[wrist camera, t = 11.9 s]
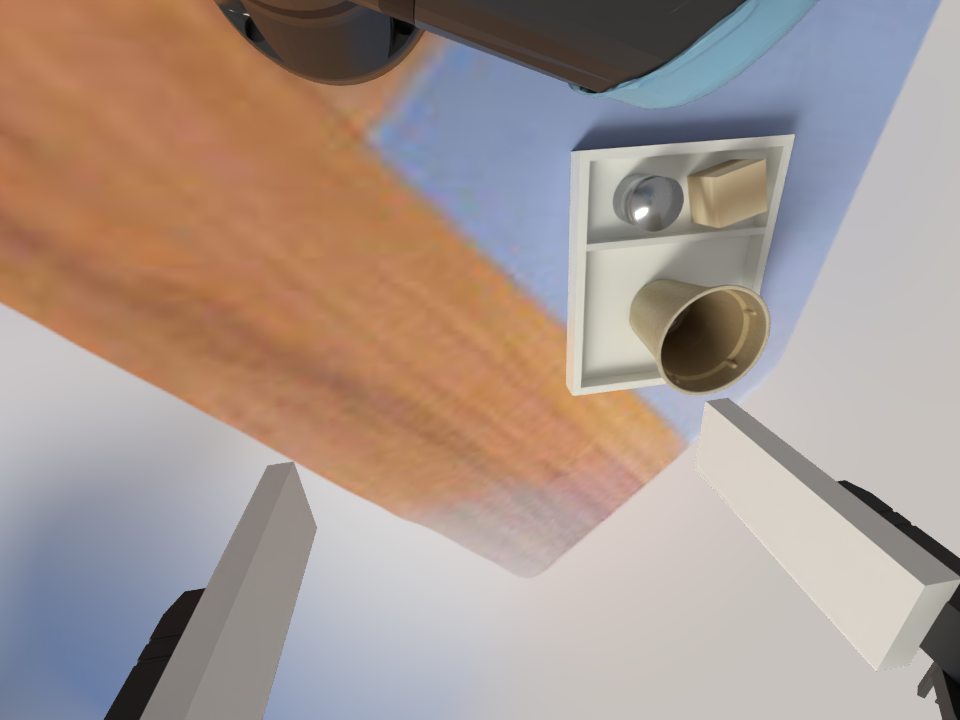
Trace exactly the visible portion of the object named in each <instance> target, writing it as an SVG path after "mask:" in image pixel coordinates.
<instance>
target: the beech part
mask: <svg viewBox="0 0 960 720" xmlns="http://www.w3.org/2000/svg"><path fill="white" fill-rule="evenodd" d="M687 184H688V194H689V203H690V213H691V222H693V223H698V224H702V225H707V226H712V227H716V228H722V227H725V226H728V225H730V224H733V223H736V222H738V221H741V220H744V219H746V218H749V217H752V216H754V215H757V214H760V213H763V212H765V211H767V180H766V159H731V160H728V161H726V162H723V163H720V164H718V165H715V166H712V167H710V168H707V169H704V170H702V171H699V172H696V173H694V174H691V175H689V176H687Z"/></svg>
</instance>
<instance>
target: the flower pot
mask: <svg viewBox="0 0 960 720" xmlns="http://www.w3.org/2000/svg"><path fill="white" fill-rule="evenodd" d="M674 321H677V322H676V324H675V325H674V326H673V327H671V328H670V329H669V327H670V326H671V324H672V323H673V322H674ZM629 323H630V326H631V328H632V330H633V331H634V333H635V334H636V335H637V336H638V337H639V339H640V340H641V341H642V342H643V343H644V345H645V346H646V347H647V348H648V350H649V351H650V352H651V353H652V355H653V356H654V357H655V360H656V363H657V367H658V370H659V373H660V375H661V377H662V378H663V379H664V381H665V382H666V383H667V384H668V385H669V386H670V387H672V388H673V389H675V390H677V391H679V392H681V393H684V394H688V395H707V394H712V393H716V392H718V391H721V390H723V389H725V388H727V387H729V386H731V385H732V384H734V383H736V382H737V381H739V380H740V379H741V378H742V377H744V376H745V375H746V374H747V372H748V371H750V369H751V368H752V367H753V366H754V365H755V364H756V362H757V361H758V359H759V358H760V356H761V355H762V352H763V351H764V349H765V346H766V344H767V341H768V338H769V333H770V314H769V311H768V308H767V305H766V304H765V302H764V301H763V299H762V298H761V297H760V296H759V295H758V294H757V293H756V292H754V291H752V290H751V289H748V288H746V287H743V286H739V285H719V286H712V287H705V286H700V285H695V284H690V283H685V282H681V281H677V280H673V279H663V280H657V281H654V282H652V283H650V284H648V285H646V286H645V287H644V288H643V289H642V290H641V291H640V292H639V293H638V294H637V295H636V296H635V298H634V300H633V301H632V304H631V308H630V318H629Z"/></svg>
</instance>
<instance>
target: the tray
mask: <svg viewBox="0 0 960 720" xmlns="http://www.w3.org/2000/svg"><path fill="white" fill-rule="evenodd" d="M794 138H795V134H792V135H779V136H766V137H753V138H740V139H727V140H714V141H701V142H688V143H675V144H662V145H649V146H636V147H623V148H610V149H597V150H584V151H571V179H570V225H569V272H568V318H567V365H566V386H567V388H568V389H569V391H570V392H571V394H572V395H573V396H577V395H584V394H592V393H600V392H608V391H615V390H623V389H631V388H639V387H647V386H654V385H662V384H667V383H666V382H665V381H664V379H663V378H662V377H661V375H660V373H659V370H658V367H657V363H656V360H655V357H654V356H653V355H652V353H651V352H650V351H649V350H648V348H647V347H646V346H645V345H644V343H643V342H642V341H641V340H640V339H639V337H638V336H637V335H636V334H635V333H634V331H633V330H632V328H631V326H630V323H629V318H630V308H631V304H632V301H633V300H634V298H635V296H636V295H637V294H638V293H639V292H640V291H641V290H642V289H643V288H644V287H645V286H646V285H648V284H650V283H652V282H654V281H657V280H663V279H673V280H677V281H681V282H685V283H690V284H695V285H700V286H705V287H712V286H719V285H739V286H743V287H746V288H748V289H751V290H752V291H754V292H756V293H757V294H758V295H759V294H760V289H761V285H762V280H763V276H764V272H765V267H766V263H767V258H768V254H769V249H770V245H771V240H772V236H773V231H774V227H775V222H776V218H777V214H778V209H779V205H780V200H781V196H782V191H783V187H784V182H785V178H786V173H787V169H788V165H789V160H790V156H791V151H792V147H793V142H794ZM731 159H766V180H767V211H765V212H763V213H760V214H757V215H754V216H752V217H749V218H746V219H744V220H741V221H738V222H736V223H733V224H730V225H728V226H725V227H722V228H716V227H712V226H707V225H702V224H698V223H693V222H691V213H690V203H689V194H688V184H687V176H689V175H691V174H694V173H696V172H699V171H702V170H704V169H707V168H710V167H712V166H715V165H718V164H720V163H723V162H726V161H728V160H731ZM635 173H644V174H650V175H656V176H663V177H669V178H672V179H674V180H676V181H677V182H678V183H679V184H680V186H681V187H682V190H683V194H684V203H683V207H682V210H681V212H680V214H679V216H678V218H677V219H676V220H675V221H674V222H673V223H672V224H671V225H670V226H669V227H667V228H665V229H663V230H661V231H655V232H652V231H647V230H645V229H642V228H639V227H637V226H634V225H632V224H629V223H627V222H624V221H622V220H620V219H619V218H618V217H617V216H616V214H615V212H614V209H613V196H614V193H615V190H616V188H617V187H618V185H619V184H620V183H621V181H622V180H624V179H625V178H626V177H628V176H630V175H632V174H635ZM676 322H677V321H674V322H673V323H672V324H671V326H670V327H669V329H670V328H671V327H673V326H674V325H675V324H676Z"/></svg>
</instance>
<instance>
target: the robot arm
mask: <svg viewBox="0 0 960 720" xmlns="http://www.w3.org/2000/svg"><path fill="white" fill-rule="evenodd" d="M214 1H215V3H216V4H217V6H218V7H219V8H220V10H221V11H222V13H223V14H224V15H225V17H226V18H227V19H228V21H229V22H230V23H231V24H232V25H233V27H234V28H235V29H236V30H237V31H238V32H239V33H240V34H241V35H242V36H243V37H244V38H245V39H246V40H247V41H248V42H249V43H250V44H251V45H252V46H253V47H254V48H256V49H257V50H258V51H259V52H261V53H262V54H263V55H265V56H266V57H267V58H269V59H270V60H272V61H273V62H275V63H276V64H278V65H279V66H281V67H282V68H284V69H286V70H287V71H289V72H291V73H293V74H295V75H297V76H299V77H302V78H304V79H307V80H310V81H313V82H317V83H321V84H327V85H338V86H342V85H355V84H360V83H364V82H368V81H371V80H373V79H376V78H378V77H380V76H382V75H384V74H386V73H387V72H389V71H390V70H392V69H393V68H394V67H396V66H397V65H398V64H399V63H400V62H401V61H403V60H404V59H405V57H406V56H407V55H408V54H409V53H410V52H411V51H412V49H413V48H414V47H415V45H416V44H417V42H418V41H419V39H420V37H421V36H422V34H423V32H424V30H426V31H429V32H431V33H434V34H437V35H439V36H442V37H445V38H448V39H450V40H453V41H456V42H458V43H461V44H464V45H467V46H469V47H472V48H475V49H477V50H480V51H483V52H485V53H488V54H491V55H494V56H496V57H499V58H502V59H504V60H507V61H510V62H513V63H515V64H518V65H521V66H523V67H526V68H529V69H531V70H534V71H537V72H540V73H542V74H545V75H548V76H550V77H553V78H556V79H558V80H561V81H564V82H567V83H568V84H569V87H570V88H571V89H573V90H574V91H576V92H578V93H580V94H582V95H584V96H587V97H593V98H595V97H600V98H612V99H615V100H618V101H621V102H625V103H628V104H631V105H634V106H637V107H641V108H646V109H657V108H673V107H676V106H681V105H684V104H687V103H689V102H692V101H694V100H697V99H699V98H701V97H704V96H705V95H707V94H709V93H711V92H713V91H715V90H717V89H718V88H720V87H722V86H723V85H725V84H726V83H728V82H729V81H731V80H732V79H734V78H735V77H737V76H738V75H739V74H741V73H742V72H744V71H745V70H746V69H747V68H748V67H750V66H751V65H752V64H753V63H755V62H756V61H757V60H758V59H759V58H761V57H762V56H763V55H764V54H765V53H767V52H768V51H769V50H770V49H771V48H772V47H773V46H774V45H776V44H777V43H778V42H779V41H780V40H781V39H782V38H783V37H784V36H785V35H786V34H787V33H788V32H789V31H790V30H791V29H792V28H793V27H794V26H795V25H796V24H797V23H798V22H799V21H800V20H801V19H802V18H803V17H804V16H805V15H806V14H807V13H808V12H809V11H810V10H811V9H812V7H813V6H814V5H815V4H816V3H817V2H818V1H819V0H214ZM694 468H695V469H696V470H697V471H698V473H699V474H700V475H701V476H702V477H703V478H704V479H705V480H706V481H707V483H708V484H709V485H710V486H711V487H712V488H713V489H714V490H715V492H716V493H717V494H718V495H719V496H720V497H721V498H722V499H723V501H724V502H725V503H726V504H727V505H728V506H729V507H730V508H731V509H732V511H733V512H734V513H735V514H736V515H737V516H738V517H739V518H740V520H741V521H742V522H743V523H744V524H745V525H746V526H747V527H748V529H749V530H750V531H751V532H752V533H753V534H754V535H755V536H756V538H758V540H759V541H760V542H761V543H762V544H763V545H764V546H765V547H766V549H767V550H768V551H769V552H770V553H771V554H772V555H773V557H774V558H775V559H776V560H777V561H778V562H779V563H780V564H781V566H782V567H783V568H784V569H785V570H786V571H787V572H788V573H789V574H790V576H791V577H793V579H794V580H795V581H796V582H797V583H798V584H799V586H800V587H801V588H802V589H803V590H804V591H805V592H806V593H807V595H808V596H809V597H810V598H811V599H812V600H813V601H814V602H815V604H816V605H817V606H818V607H819V608H820V609H821V610H822V611H823V612H824V614H825V615H826V616H827V617H828V618H829V619H830V620H831V622H832V623H833V624H834V625H835V626H836V627H837V628H838V629H839V631H840V632H841V633H842V634H843V635H844V636H845V637H846V638H847V639H848V640H849V642H850V643H851V644H852V645H853V646H854V647H855V648H856V649H857V651H858V652H859V653H860V654H861V655H862V656H863V657H864V659H865V660H866V661H867V662H868V663H869V664H870V665H871V666H872V667H873V669H874V670H875V671H876V672H877V671H882V670H887V669H892V668H897V667H902V666H907V665H909V664H910V663H911V661H912V659H913V658H914V656H915V654H916V653H917V651H918V650H919V648H921V649H923V651H925V653H927V654H928V655H929V656H930V657H931V658H932V659H933V660H934V662H933V664H932V665H931V667H930V668H929V670H928V671H927V673H926V674H925V676H924V677H923V679H922V680H921V682H920V683H919V685H918V694H917V695H918V696H920V697H923V698H925V697H926V696H927V694H928V693H929V691H930V690H931V688H932V687H933V685H934V688H935V692H936V696H937V699H936V700H935V703H937V704H939V708H940V712H941V716H942V720H960V558H958V557H957V556H956V555H954V554H953V553H952V552H951V551H949V550H948V549H946V548H945V547H944V546H942V545H941V544H940V543H938V542H937V541H936V540H934V539H933V538H932V537H930V536H929V535H927V534H926V533H925V532H923V531H922V530H921V529H919V528H918V527H917V526H912V525H911V522H910V521H908V520H907V519H905V518H904V517H903V516H901V515H900V514H899V513H898V512H893V509H892V508H891V507H889V506H888V505H887V504H885V503H884V502H882V501H881V500H880V499H878V498H877V497H876V496H874V495H873V494H872V493H870V492H868V491H866V490H864V489H862V488H860V487H858V486H855V485H853V484H852V483H850V482H848V481H845V480H844V481H838V482H836V481H835V480H834V479H832V478H831V477H830V476H828V475H827V474H826V473H824V472H823V471H822V470H821V469H819V468H818V467H817V466H816V465H814V464H813V463H812V462H810V461H809V460H808V459H806V458H805V457H804V456H803V455H801V454H800V453H799V452H797V451H796V450H795V449H793V448H792V447H791V446H790V445H788V444H787V443H785V442H784V441H783V440H782V439H780V438H779V437H778V436H777V435H775V434H774V433H773V432H771V431H770V430H769V429H767V428H766V427H765V426H763V425H762V424H761V423H760V422H758V421H757V420H756V419H755V418H753V417H752V416H751V415H749V414H748V413H747V412H745V411H744V410H743V409H742V408H740V407H739V406H738V405H736V404H735V403H734V402H732V401H731V400H730V399H729V398H724V399H718V400H711V401H706V402H705V408H704V414H703V420H702V425H701V431H700V437H699V443H698V448H697V454H696V460H695V465H694ZM316 529H317V526H316V524H315V521H314V518H313V515H312V512H311V509H310V507H309V504H308V501H307V498H306V495H305V492H304V490H303V487H302V484H301V481H300V478H299V475H298V473H297V470H296V467H295V464H294V462H289V463H282V464H275V465H269V466H267V468H266V470H265V472H264V474H263V476H262V478H261V480H260V482H259V484H258V486H257V488H256V490H255V492H254V494H253V496H252V498H251V500H250V502H249V504H248V506H247V507H246V510H245V511H244V514H243V515H242V518H241V519H240V521H239V523H238V525H237V527H236V529H235V531H234V533H233V535H232V537H231V540H230V541H229V543H228V545H227V547H226V549H225V551H224V553H223V555H222V557H221V559H220V561H219V563H218V565H217V567H216V569H215V571H214V573H213V575H212V577H211V579H210V581H209V583H208V585H207V587H206V588H203V589H198V590H191V591H185V592H184V593H183V594H182V595H181V596H180V597H179V598H178V599H177V601H176V602H175V603H174V604H173V605H172V606H171V607H170V608H169V609H168V610H167V611H166V613H164V614H163V616H162V618H161V620H160V621H159V623H158V625H157V627H156V628H155V630H154V632H153V634H152V636H151V638H150V639H149V644H147V645H146V646H145V648H144V650H143V651H142V653H141V655H140V657H139V658H138V660H137V665H136V666H134V667H133V669H132V671H131V672H130V674H129V676H128V678H127V680H126V681H125V683H124V685H123V687H122V688H121V690H120V692H119V694H118V696H117V697H116V699H115V701H114V702H113V704H112V706H111V708H110V709H109V711H108V713H107V715H106V717H105V718H104V720H263V716H264V713H265V709H266V705H267V702H268V699H269V695H270V691H271V688H272V685H273V681H274V677H275V674H276V670H277V667H278V663H279V660H280V656H281V653H282V649H283V645H284V642H285V639H286V635H287V631H288V628H289V625H290V621H291V617H292V614H293V610H294V607H295V603H296V600H297V596H298V593H299V589H300V586H301V582H302V579H303V575H304V571H305V568H306V565H307V561H308V557H309V553H310V550H311V547H312V543H313V540H314V536H315V533H316Z"/></svg>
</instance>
